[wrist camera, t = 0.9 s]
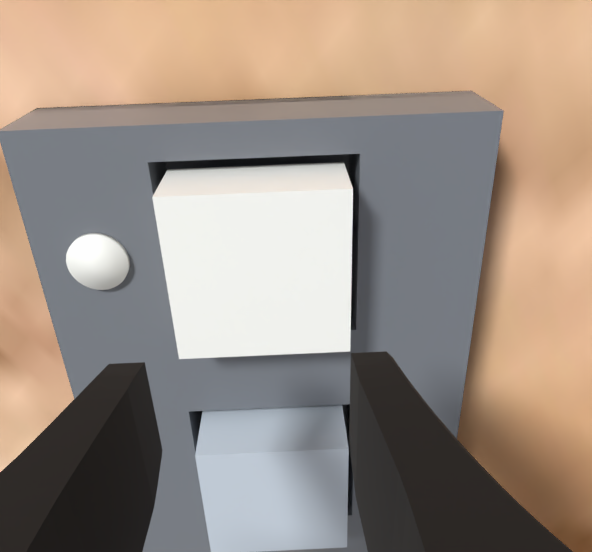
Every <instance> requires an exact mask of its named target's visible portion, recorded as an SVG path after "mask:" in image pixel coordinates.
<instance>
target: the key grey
mask: <svg viewBox="0 0 592 552" xmlns="http://www.w3.org/2000/svg"><path fill="white" fill-rule="evenodd" d="M195 459H196V465H197V471H198V477H199V483H200V489H201V495H202V501H203V507H204V513H205V519H206V525H207V531H208V537H209V543H210V549H211V552H262V551H282V550H303V549H324V548H345V547H347V520H348V460H349V447H348V441H347V434H346V427H345V421H344V414H343V407H342V405H322V406H300V407H278V408H256V409H234V410H212V411H202V417H201V423H200V429H199V435H198V441H197V447H196V453H195Z"/></svg>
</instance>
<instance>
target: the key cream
mask: <svg viewBox="0 0 592 552" xmlns="http://www.w3.org/2000/svg"><path fill="white" fill-rule="evenodd" d="M152 199H153V205H154V211H155V217H156V223H157V229H158V235H159V241H160V247H161V253H162V259H163V265H164V271H165V277H166V283H167V289H168V295H169V301H170V307H171V314H172V320H173V326H174V332H175V338H176V344H177V350H178V356H179V359H194V358H217V357H239V356H261V355H284V354H306V353H328V352H350V339H351V279H352V219H353V187H352V184H351V182H350V179H349V176H348V173H347V170H346V167H345V164H344V162H332V163H308V164H283V165H259V166H235V167H211V168H186V169H167V171H166V173H165V175H164V177H163V179H162V180H161V182H160V184H159V186H158V188H157V189H156V191H155V193H154V195H153V197H152Z"/></svg>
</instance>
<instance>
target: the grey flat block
mask: <svg viewBox="0 0 592 552" xmlns="http://www.w3.org/2000/svg"><path fill="white" fill-rule="evenodd" d="M502 118H503V110H502V109H500V108H498V107H497V106H495V105H494V104H492V103H490V102H489V101H487V100H486V99H484V98H482V97H481V96H479V95H477V94H476V93H474V92H473V91H455V92H430V93H405V94H380V95H355V96H330V97H305V98H280V99H255V100H230V101H205V102H180V103H155V104H130V105H105V106H80V107H55V108H37V109H35V110H33V111H31V112H30V113H28V114H26V115H24V116H23V117H21V118H19V119H17V120H16V121H14V122H12V123H10V124H9V125H7V126H5V127H3V128H2V129H0V143H1V146H2V150H3V153H4V157H5V160H6V164H7V167H8V171H9V174H10V177H11V181H12V184H13V188H14V191H15V195H16V198H17V202H18V205H19V209H20V212H21V215H22V219H23V222H24V226H25V229H26V233H27V236H28V240H29V243H30V247H31V250H32V254H33V257H34V260H35V264H36V267H37V271H38V274H39V278H40V281H41V285H42V288H43V292H44V295H45V299H46V302H47V305H48V309H49V312H50V316H51V319H52V323H53V326H54V330H55V333H56V337H57V340H58V344H59V347H60V350H61V354H62V357H63V361H64V364H65V368H66V371H67V375H68V378H69V382H70V385H71V388H72V392H73V395H74V399H75V398H76V397H77V396H78V395H79V394H80V393H81V392H82V391H83V390H84V389H85V388H86V387H87V386H88V385H89V384H90V383H91V382H92V380H93V379H94V378H95V377H96V376H97V375H98V374H99V373H100V372H101V371H102V370H103V369H104V368H105V367H106V366H107V365H108V364H117V363H139V362H145V366H146V371H147V376H148V381H149V386H150V391H151V396H152V401H153V406H154V411H155V415H156V420H157V425H158V430H159V435H160V440H161V445H162V450H163V451H162V458H161V465H160V473H159V480H158V486H157V493H156V499H155V505H154V510H153V514H152V517H151V521H150V525H149V529H148V532H147V536H146V540H145V544H144V547H143V551H142V552H211V549H210V543H209V537H208V531H207V525H206V519H205V513H204V507H203V501H202V495H201V489H200V483H199V477H198V471H197V465H196V459H195V453H196V447H197V441H198V435H199V429H200V423H201V417H202V411H212V410H234V409H256V408H278V407H300V406H322V405H342V407H343V414H344V421H345V427H346V434H347V441H348V447H349V460H348V520H347V547H345V548H324V549H303V550H282V551H262V552H368V550H367V546H366V541H365V537H364V532H363V528H362V523H361V519H360V515H359V510H358V505H357V501H356V496H355V487H354V479H353V471H352V462H351V453H350V444H349V423H350V365H351V353H363V352H385V351H387V352H388V353H389V354H390V355H391V356H392V357H393V358H394V360H395V361H396V363H397V364H398V366H399V367H400V369H401V370H402V371H403V373H404V374H405V376H406V377H407V378H408V380H409V381H410V382H411V384H412V385H413V386H414V388H415V389H416V390H417V392H418V393H419V394H420V395H421V397H422V398H423V399H424V400H425V402H426V403H427V404H428V406H429V407H430V408H431V409H432V410H433V412H434V413H435V414H436V415H437V417H438V418H439V419H440V420H441V421H442V422H443V424H444V425H445V426H446V427H447V428H448V429H449V430H450V432H451V433H452V434H453V435H454V436H455V437H456V439H457V434H458V427H459V420H460V413H461V406H462V399H463V392H464V385H465V378H466V371H467V364H468V357H469V350H470V343H471V336H472V329H473V322H474V315H475V308H476V301H477V294H478V287H479V280H480V273H481V266H482V259H483V252H484V245H485V238H486V231H487V224H488V217H489V210H490V203H491V196H492V189H493V182H494V174H495V167H496V160H497V153H498V146H499V139H500V132H501V125H502ZM332 162H344V164H345V167H346V170H347V173H348V176H349V179H350V182H351V184H352V187H353V219H352V279H351V339H350V352H328V353H306V354H284V355H261V356H239V357H217V358H194V359H179V356H178V350H177V344H176V338H175V332H174V326H173V320H172V314H171V307H170V301H169V295H168V289H167V283H166V277H165V271H164V265H163V259H162V253H161V247H160V241H159V235H158V229H157V223H156V217H155V211H154V205H153V199H152V197H153V195H154V193H155V191H156V189H157V188H158V186H159V184H160V182H161V180H162V179H163V177H164V175H165V173H166V171H167V169H186V168H211V167H235V166H259V165H283V164H308V163H332Z"/></svg>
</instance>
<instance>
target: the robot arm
mask: <svg viewBox="0 0 592 552" xmlns="http://www.w3.org/2000/svg"><path fill="white" fill-rule="evenodd" d="M349 444H350V453H351V462H352V471H353V479H354V487H355V496H356V501H357V505H358V510H359V515H360V519H361V523H362V528H363V532H364V537H365V541H366V546H367V550H368V552H573V551H571V550H570V549H569V548H568V547H567V546H566V545H564V544H563V543H562V542H561V541H560V540H559V539H557V538H556V537H555V536H554V535H553V534H552V533H551V532H549V531H548V530H547V529H546V528H545V527H544V526H543V525H542V524H541V523H540V522H538V521H537V520H536V519H535V518H534V517H533V516H532V515H531V514H530V513H528V512H527V511H526V510H525V509H524V508H523V507H522V506H521V505H520V504H519V503H518V502H517V501H516V500H515V499H514V498H513V497H512V496H511V495H510V494H509V493H508V492H507V491H506V490H505V489H504V488H502V487H501V486H500V485H499V484H498V482H497V481H496V480H495V479H494V478H493V477H492V476H491V475H490V474H489V473H488V472H487V471H486V470H485V469H484V468H483V467H482V466H481V465H480V464H479V463H478V462H477V461H476V460H475V459H474V457H473V456H472V455H471V454H470V453H469V452H468V451H467V450H466V449H465V448H464V447H463V445H462V444H461V443H460V442H459V441H458V440H457V439H456V437H455V436H454V435H453V434H452V433H451V432H450V430H449V429H448V428H447V427H446V426H445V425H444V424H443V422H442V421H441V420H440V419H439V418H438V417H437V415H436V414H435V413H434V412H433V410H432V409H431V408H430V407H429V406H428V404H427V403H426V402H425V400H424V399H423V398H422V397H421V395H420V394H419V393H418V392H417V390H416V389H415V388H414V386H413V385H412V384H411V382H410V381H409V380H408V378H407V377H406V376H405V374H404V373H403V371H402V370H401V369H400V367H399V366H398V364H397V363H396V361H395V360H394V358H393V357H392V356H391V355H390V354H389V353H388V352H387V351H385V352H363V353H351V365H350V423H349ZM162 451H163V450H162V445H161V440H160V435H159V430H158V425H157V420H156V415H155V411H154V406H153V401H152V396H151V391H150V386H149V381H148V376H147V371H146V366H145V362H139V363H117V364H108V365H107V366H106V367H105V368H104V369H103V370H102V371H101V372H100V373H99V374H98V375H97V376H96V377H95V378H94V379H93V380H92V382H91V383H90V384H89V385H88V386H87V387H86V388H85V389H84V390H83V391H82V392H81V393H80V394H79V395H78V396H77V397H76V398H75V399H74V400H73V401H72V402H71V403H70V404H69V405H68V406H67V407H66V408H65V410H64V411H63V412H62V413H61V414H60V415H59V416H58V417H57V418H56V419H55V420H54V421H53V422H52V423H51V424H50V425H49V426H48V427H47V428H46V429H45V430H44V431H43V432H42V433H41V434H40V435H39V436H38V437H37V438H36V439H35V440H34V441H33V442H32V443H31V444H30V445H29V446H28V447H27V448H26V449H25V450H24V451H23V452H22V453H21V454H20V455H19V456H18V457H17V458H16V459H14V460H13V461H12V462H11V463H10V464H9V465H8V466H7V467H6V468H5V469H4V470H3V471H1V472H0V552H142V551H143V547H144V544H145V540H146V536H147V532H148V529H149V525H150V521H151V517H152V514H153V510H154V505H155V499H156V493H157V486H158V480H159V473H160V465H161V458H162Z"/></svg>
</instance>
